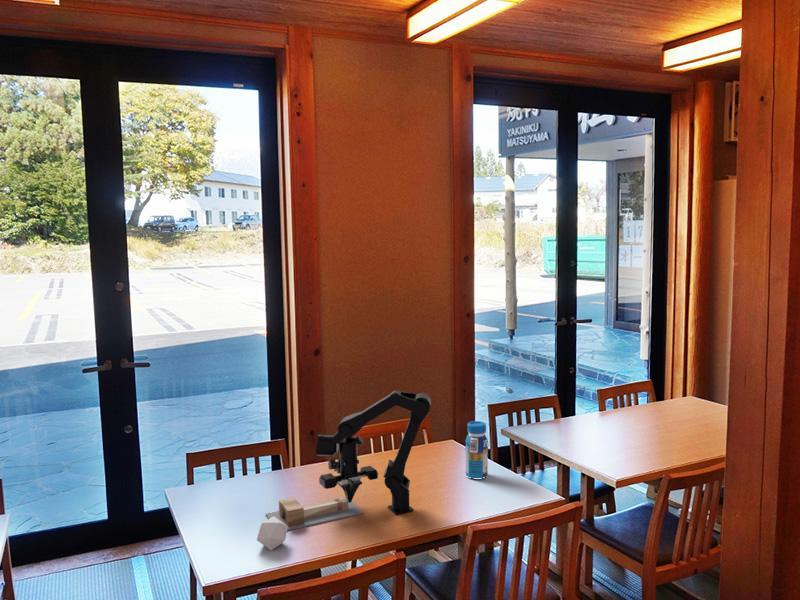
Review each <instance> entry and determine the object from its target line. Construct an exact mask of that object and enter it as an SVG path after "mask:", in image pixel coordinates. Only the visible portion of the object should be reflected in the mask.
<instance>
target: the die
mask: <svg viewBox="0 0 800 600" xmlns="http://www.w3.org/2000/svg"><path fill="white" fill-rule="evenodd" d="M287 528H288V526H287V525H285V524H284V523H283V522H281V521H280V520H279V519H277V518H276V517H274V516H273V517H271V518H270V519H268V518H267V519H266V520H265V521H263V522H261V524H260V526H259V529H258V533H257V537H256V541H257V542H258V543H260V544H262V545H263V546H264V547H265V548H267V549H268V550H269V551H273V550H274V549H276V548H277V547H279V546H281V545H282V544H284V542H285V541H286V538H287V532H288V531H287Z"/></svg>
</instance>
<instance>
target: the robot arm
mask: <svg viewBox="0 0 800 600" xmlns="http://www.w3.org/2000/svg"><path fill="white" fill-rule="evenodd" d="M431 402H432V399H431V397H430V395H429V394H427V393H424V392H420V393H415V392H408V391H400V390H393V391H392V392H391V393H389V394H387V395H386V396H385V397H383V398H381V399H380V400H378V401H376V402H375V403H372V404H371V405H370V406H368V407H367V408H365V409H363V410H361V411H359V412H355V413H352V414H349V415H347V416H344V417H343V418H342V419H341V421H340V423H339V425H338V426H337V430H336V431H335V433H334V434H333V435H332V434H331V435H330V434H328V435H327V434H318V435H317V436H316V437H317V439H316V446H315V455H316V456H318V457H335V455H336V454H339V457H338V458H337V460H338V461H336V459H335V458H333V459H328V460H327V461H328V462H327V463H328V465H327V466H328V469H329V470H333V471H334V472H336V473H337V474H339V475H333V474H332V473H331V472H330V473H326V474H324V473H323V474H321V475H320V477H319V478H318V479H319V481H318V482H319V484H320V485H321V486H322V488H324V489H326V490H327V489H332V488H334V489H335V487H336V486H337V485H338V486H339V487H340V488H341V489H342V490H343V492H344V495H345V496H344V497H346V498H347V500H348V502H349V503H350V502H352V501H353V499H354V496H355V495H356V493H357V491H358V489H359V487H360V485H362V484H363V482H362V480H361V478H364V477H365V478H366V477H367V479H368V480H369V481H373V480H378V479H379V472H378V470H377V469H376V468H375V467H373V466H372V465H367V466H363V467H362V466H361V467H360V470H359V469H358V468H359V467H358V464H360V460H359V459H358V445H362V444H363V441H364V438H362V437H361V436H360V435H359V434H357V433H358V432H360V430H362V428H364V426H366V425H367V424H368V423H369V422H371V421H373V420H374V419H376V418H378V417H379V416H381V415H382V414H384V413H385V412H387V411H389V410H391V409H392V408H394V407H396V406H398V407H400V408H403V409H405V410H408V411H411V412H410V416H409V420H408V423H407V426H406V429H405V431H404V434H403V437H402V440H401V443H400V446H399V448H398V451H397V452H396V453H397V454H396V456H395V458H394V459H393V460H392V459H389V460H388V462H387V466H386V467H385V468H386V469H385V471H384V474H383V476H382V477H383V478H384V481H383V482H384V485H385V487H387V488H388V489H389V492H390V494H391V504H390V505H388V506H387V509H389V510H390V511H392V513H393V514H395V515H401V514H405V513H410V512H413V511H414V508H413V507H412V506H411V505H410V490H409V489H410V484H411V479H409V478H408V477H407V476H406V475H405V469H406V465H407V461H408V459H409V456H410V453H411V450H412V448H413V445H414V442H415V440H416V437H417V434H418V431H419V428H420V427H421V424H422V423H423V422H424V421H425V419H426V417H427V416H428V414H429V412H430V410H431V405H432V403H431ZM356 434H357V435H356ZM355 435H356V436H355ZM358 470H359V471H358Z"/></svg>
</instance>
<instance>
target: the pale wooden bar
mask: <svg viewBox="0 0 800 600" xmlns="http://www.w3.org/2000/svg"><path fill="white" fill-rule="evenodd" d="M345 497H346V496H344V498H342V497H339V498H340V499H338V498H334V499H335V500H333V499H329V500H330V501H328V500H325V501H326V502H324V501H320V502H321V503H319V502H315V503H316V504H314V503H310V504H311V505H309V504H306V505H307V506H305V505H301V506H302V507H303V508H304V518H309V517H313V516H318V515H322V514H327V513H331V512H336V511H340V510H345V509H348V500H347V499H346V498H345Z"/></svg>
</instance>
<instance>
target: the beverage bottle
mask: <svg viewBox="0 0 800 600" xmlns="http://www.w3.org/2000/svg"><path fill="white" fill-rule="evenodd" d="M466 429H467V433H468V434H467V436H466V438H465V448H464V451H465V472H464V473H465V474H466V475H465V477H466V476H468V477H471V478H483V477H486V476H487V475H489V473H488V471H489V470H488V468H489V467H488V465H489V463H488V459H489V458H488V457H489V453H488V452H489V446H488V444H489V441H488V438H487V436H486V433H487V424H486V423H485V422H484V421H480V420H477V421H476V420H475V421H469V422H468V423H467V428H466ZM468 477H467V478H468ZM487 477H488V476H487ZM487 477H486V478H487Z"/></svg>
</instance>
